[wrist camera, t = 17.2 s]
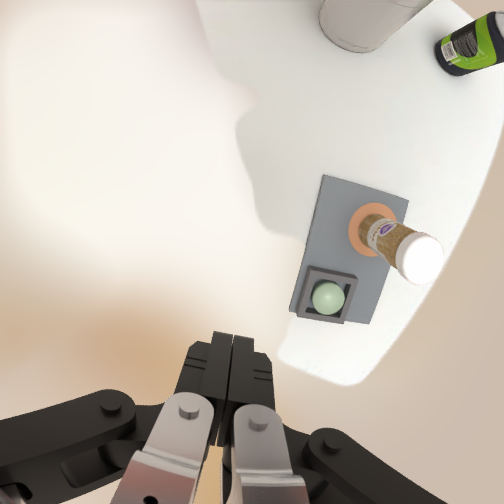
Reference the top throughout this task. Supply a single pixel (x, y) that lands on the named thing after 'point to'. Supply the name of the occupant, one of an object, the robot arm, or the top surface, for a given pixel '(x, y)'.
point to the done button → (327, 297)
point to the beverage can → (473, 45)
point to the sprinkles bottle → (403, 248)
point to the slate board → (344, 250)
